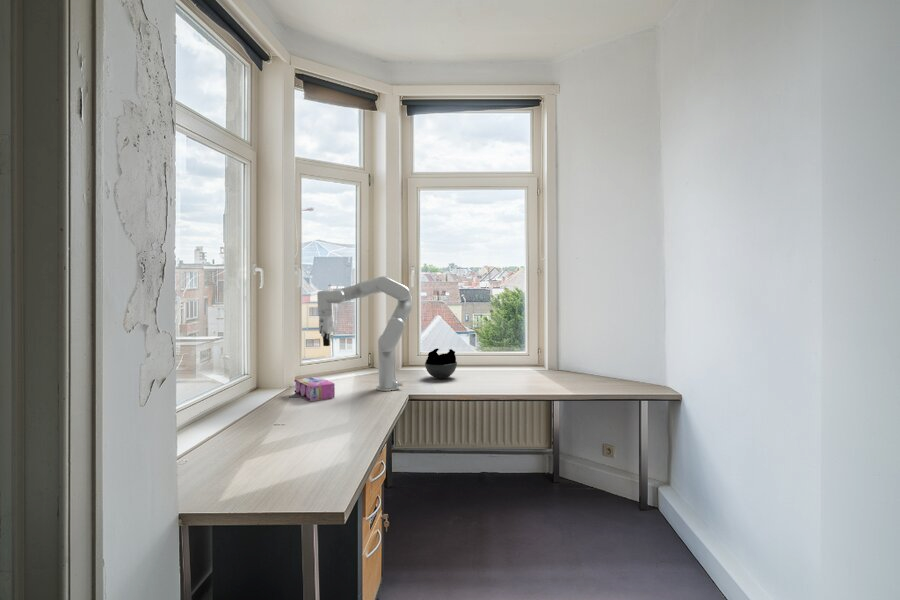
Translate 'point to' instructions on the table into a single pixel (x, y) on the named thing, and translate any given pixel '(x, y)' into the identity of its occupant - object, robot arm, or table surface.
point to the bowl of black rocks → (441, 364)
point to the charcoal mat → (295, 396)
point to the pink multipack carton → (315, 388)
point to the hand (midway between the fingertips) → (326, 345)
